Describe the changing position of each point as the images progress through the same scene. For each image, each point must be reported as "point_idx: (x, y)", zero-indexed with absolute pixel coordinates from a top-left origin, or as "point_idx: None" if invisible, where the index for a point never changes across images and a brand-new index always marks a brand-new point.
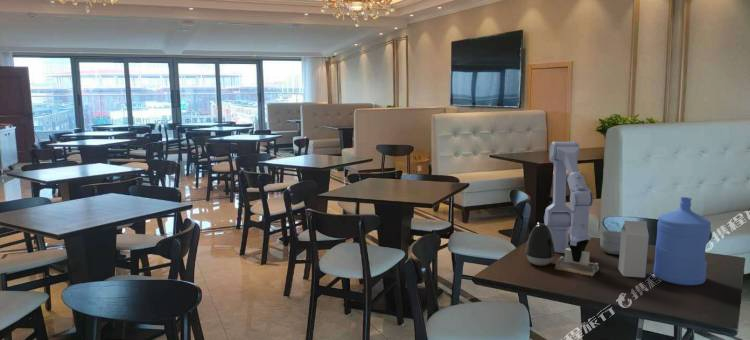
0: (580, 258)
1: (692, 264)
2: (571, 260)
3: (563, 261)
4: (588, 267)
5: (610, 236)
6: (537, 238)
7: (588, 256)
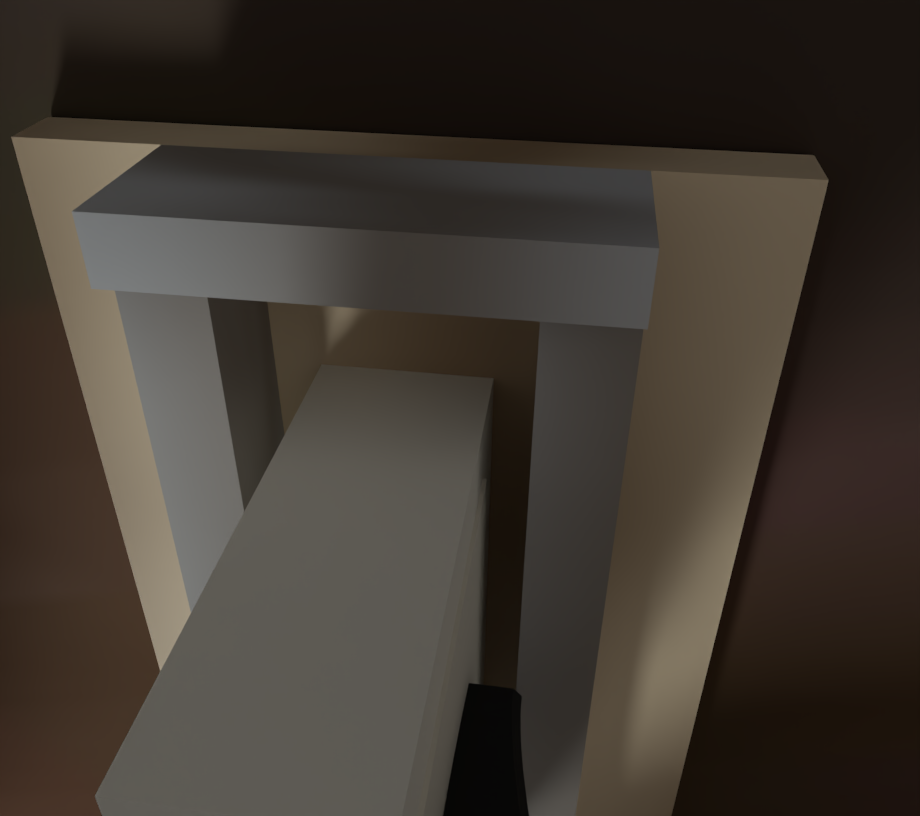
0: (458, 761)
1: None
2: None
3: None
4: (633, 399)
5: None
6: None
7: (332, 670)
